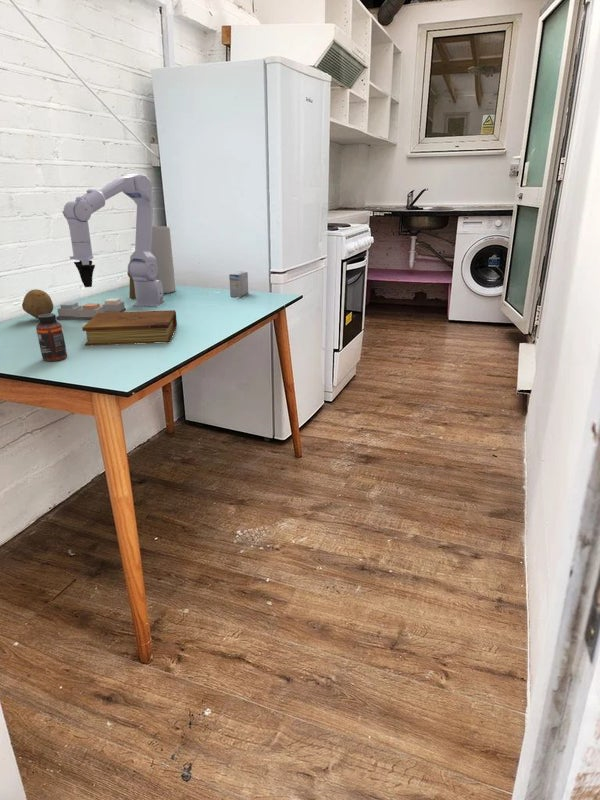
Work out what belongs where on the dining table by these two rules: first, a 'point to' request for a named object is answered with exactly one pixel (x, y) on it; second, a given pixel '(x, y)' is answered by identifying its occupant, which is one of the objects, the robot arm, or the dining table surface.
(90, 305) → the button terracotta
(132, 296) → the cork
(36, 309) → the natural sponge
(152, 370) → the dining table surface
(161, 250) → the tall grey block
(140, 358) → the dining table surface
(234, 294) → the medicine box
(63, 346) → the supplement bottle
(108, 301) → the button cream
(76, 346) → the dining table surface
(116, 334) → the diary
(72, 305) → the button slate
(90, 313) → the board
